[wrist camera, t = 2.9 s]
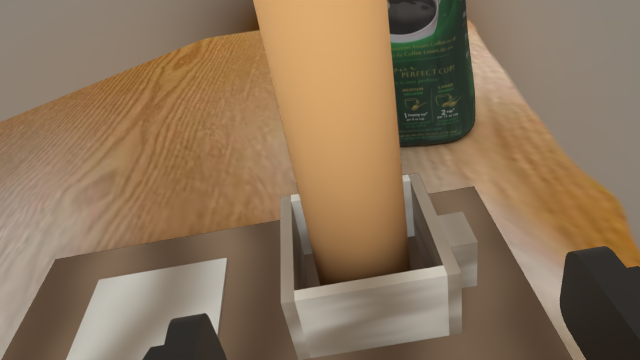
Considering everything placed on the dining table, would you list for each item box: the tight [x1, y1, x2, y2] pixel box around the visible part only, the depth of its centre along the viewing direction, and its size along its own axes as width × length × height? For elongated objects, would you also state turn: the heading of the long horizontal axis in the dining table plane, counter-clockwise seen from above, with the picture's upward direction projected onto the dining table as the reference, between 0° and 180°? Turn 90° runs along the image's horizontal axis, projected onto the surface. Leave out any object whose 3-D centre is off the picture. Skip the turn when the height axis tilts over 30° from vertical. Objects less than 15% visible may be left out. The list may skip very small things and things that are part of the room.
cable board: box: [2, 173, 573, 360], centre depth 26 cm, size 28×14×6 cm, turn 94°
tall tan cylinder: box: [253, 0, 411, 286], centre depth 21 cm, size 5×5×20 cm
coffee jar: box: [387, 0, 475, 145], centre depth 38 cm, size 10×8×19 cm
